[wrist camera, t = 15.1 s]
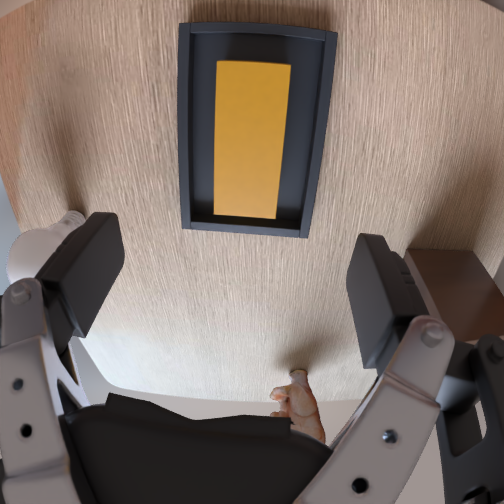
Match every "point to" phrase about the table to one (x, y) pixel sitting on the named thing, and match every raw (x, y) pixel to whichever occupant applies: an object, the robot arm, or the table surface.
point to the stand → (458, 292)
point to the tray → (296, 129)
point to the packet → (249, 136)
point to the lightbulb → (39, 246)
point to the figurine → (299, 405)
